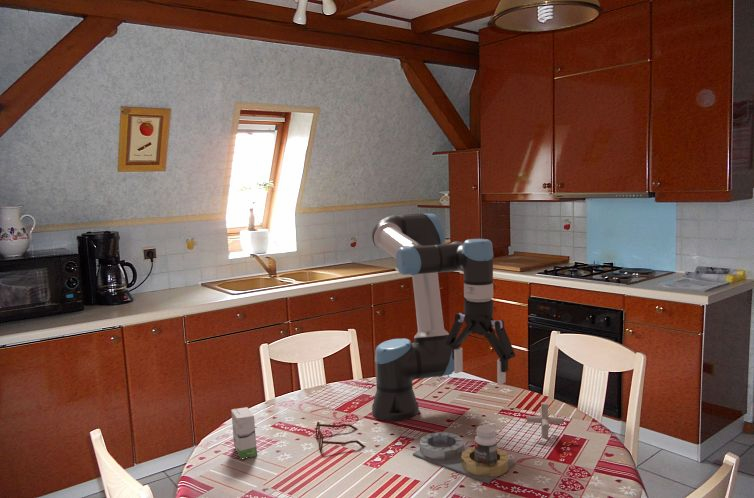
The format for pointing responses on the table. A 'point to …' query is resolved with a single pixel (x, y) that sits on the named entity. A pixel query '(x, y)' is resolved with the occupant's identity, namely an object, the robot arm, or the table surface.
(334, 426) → the glasses
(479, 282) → the robot arm
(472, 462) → the brass socket
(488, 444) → the pill bottle
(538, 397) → the table surface
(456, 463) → the slate board
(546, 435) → the pipe connector
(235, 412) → the ink box
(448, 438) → the grey socket
